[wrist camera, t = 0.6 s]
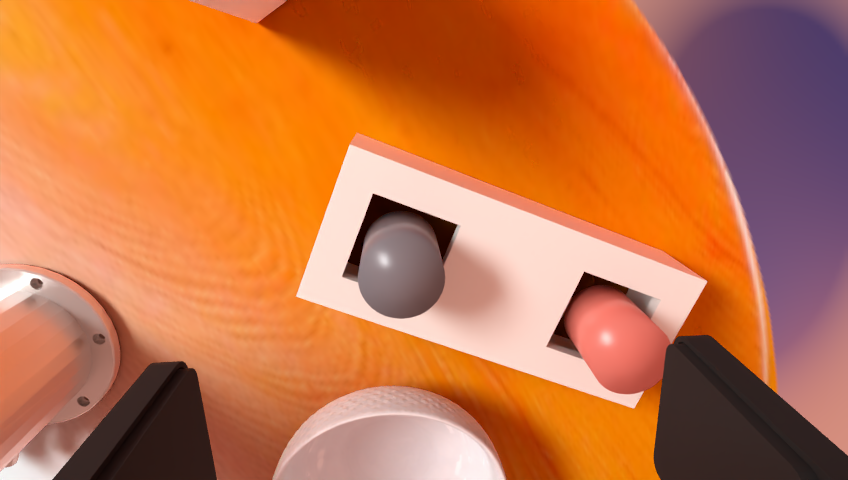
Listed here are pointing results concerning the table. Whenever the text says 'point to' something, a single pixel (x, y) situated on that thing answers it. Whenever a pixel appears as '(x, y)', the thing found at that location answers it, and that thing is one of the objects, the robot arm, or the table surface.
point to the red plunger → (616, 339)
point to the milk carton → (244, 7)
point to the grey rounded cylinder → (401, 266)
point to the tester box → (493, 266)
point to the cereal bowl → (390, 440)
